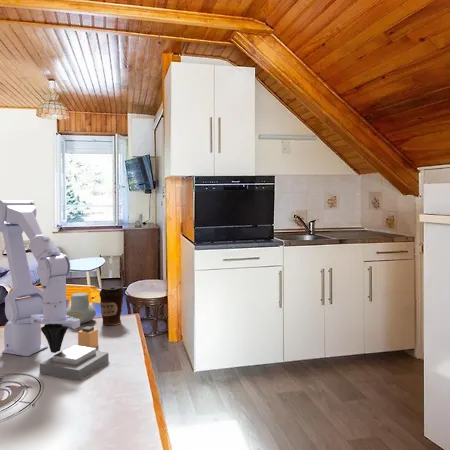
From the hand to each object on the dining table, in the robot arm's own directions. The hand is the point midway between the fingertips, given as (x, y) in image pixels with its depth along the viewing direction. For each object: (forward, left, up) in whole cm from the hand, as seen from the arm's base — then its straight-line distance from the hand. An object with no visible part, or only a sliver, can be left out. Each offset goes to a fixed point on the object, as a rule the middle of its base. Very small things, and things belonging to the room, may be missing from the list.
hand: (55, 351), depth 107 cm
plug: (0, +13, -3) cm, 13 cm away
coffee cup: (-7, +35, -4) cm, 36 cm away
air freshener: (-19, +33, -4) cm, 38 cm away
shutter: (+6, 0, -1) cm, 6 cm away
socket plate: (+6, 0, -3) cm, 7 cm away
